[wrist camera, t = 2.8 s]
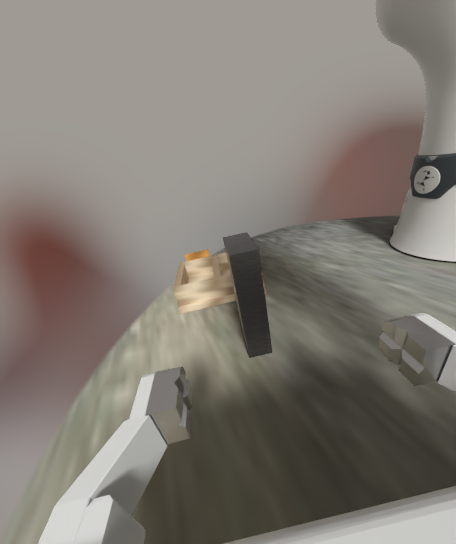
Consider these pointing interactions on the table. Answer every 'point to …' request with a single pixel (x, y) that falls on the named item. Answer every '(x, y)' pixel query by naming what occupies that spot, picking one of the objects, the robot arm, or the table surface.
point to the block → (249, 292)
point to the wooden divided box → (204, 282)
